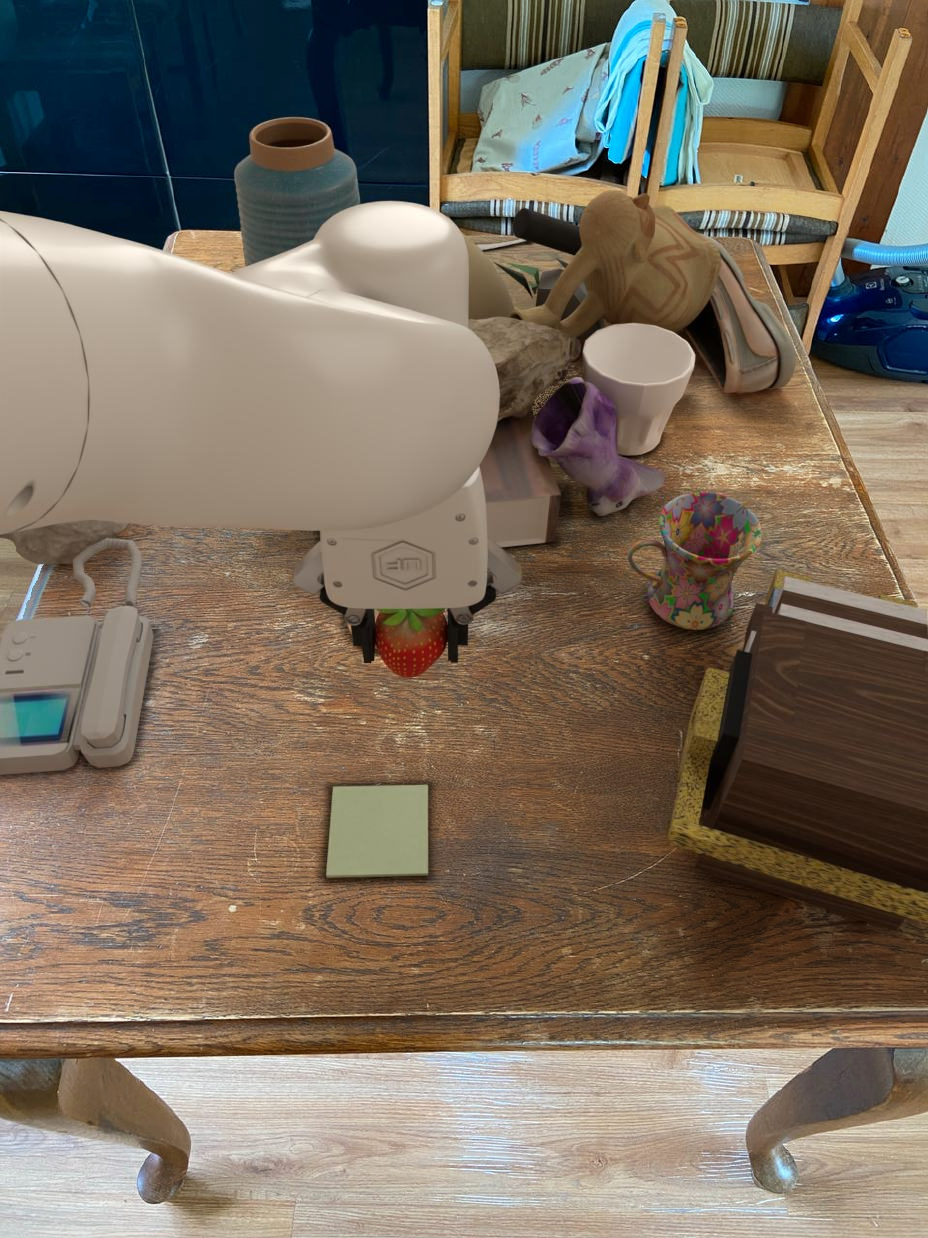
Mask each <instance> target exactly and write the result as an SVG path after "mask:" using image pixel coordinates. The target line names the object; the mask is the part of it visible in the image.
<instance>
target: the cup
mask: <svg viewBox="0 0 928 1238" xmlns="http://www.w3.org/2000/svg"><path fill="white" fill-rule="evenodd" d="M582 354H583V359H582V370H583V371H582V372H583V374H582V375H583V380H584V382H590V383H592V384H593V385H594V386H595V387H596V388H597V389H598V390H599V391H601V392H602V393H603V394H605V395H606V396H608V397H609V398H610V399H611V400H612V402H613V403H614V405H615V408H616V413H617V416H616V430H617V454H618V455H619V456H639V455H643V454H646V453H649V452H651V451H653V450H654V449H655V448H656V447H657V446H658V445H659V444H660V443H661V440H662V439H661V438H662V435H663V433H664V430H665V428H666V425H667V423H668V421H669V419H670V416H671V415H672V412H673V410H674V408H675V405H676V404H677V403H678V402H679V401H680V400H681V399H682V398H683V396H684V393H685V391H686V389H687V386H688V384H689V381H690V379H691V376H692V374H693V371H694V369H695V363H696V354H695V351H694V350H693V348H692V347H691V345H690V343H689V342H688V341H687V340H686V339H684V338H682V337H681V336H680V335H678V334H677V333H676V332H675V333H674V332H672V331H669V330H666V329H663V328H660V327H658V326H655V325H647V324H639V323H627V324H614V325H611V324H610V325H608V326H606V327H604V328H603V329H600V330H597V331H596V332H595V333H594V334H593V335H591V336H590V337H589V338H588V339H587V340H586V341H585V344H584V348H583V352H582Z"/></svg>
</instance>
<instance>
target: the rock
mask: <svg viewBox="0 0 928 1238" xmlns="http://www.w3.org/2000/svg"><path fill="white" fill-rule="evenodd" d="M468 329H470V330H471V331H473V332H474V333H475V334H476V335H477V336H478V337H479V338H480V339H481V340H482V341H483V343H484V344H485V346H486V347H487V349H488V351H489V352H490V354H491V356H492V359H493V361H494V364H495V366H496V371H497V375H498V380H499V390H500V402H499V413H498V419H497V422H498V421H499V420H501V419H503V418H507V417H510V416H511V415H512V416H514V417H520V418H523V417H525V416H526V415H528V413H529V412H530V410H531V409H532V408H533V407H534V406H535V403H534V402H535V400H536V399H537V398H538V397H539V396H540V395H542V394H544V393H545V392H546V390H547V389H548V388H549V387H551V386H553V387H555V386H557V385H559V384H560V382H561V381H564V380H565V379H566V377H567V375H568V373H569V370H570V367H571V366H572V363H571V362H573V361H574V360H576V359H577V357H578V356H579V355H580V354H581V345H580V342H579V340H578V339H576V338H575V337H571V336H569V335H567V334H565V333H563V332H561V331H559V330H556V329H553V328H551V327H548V326H545V325H537V324H536V323H533V322H528V321H523V320H517V319H513V318H508V317H500V316H498V317H491V318H487V319H479V320H473V319H468Z"/></svg>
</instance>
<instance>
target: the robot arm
mask: <svg viewBox="0 0 928 1238" xmlns="http://www.w3.org/2000/svg"><path fill="white" fill-rule="evenodd" d="M461 232H462V231H461V230H460V229H459V227H458V225H457V224H456V223H455V222H454V221H453V220H452V219H451V218H449V217H448V216H447V215H446V214H443V213H442V212H440V211H439V210H437V209H435V208H433V207H429V206H426V205H424V204H420V203H415V202H408V201H400V200H380V201H372V202H365V203H361V204H360V205H356V206H353V207H350V208H347V209H345V210H342V211H340V212H339V213H337V214H335V215H334V216H332V217H331V218H330V219H328V220H327V221H326V222H325V223H324V224H323V225H322V226H321V227H320V229H319V230H318V232H317V234H316V235H315V237H314V239H313V240H311V241H309V242H307V243H305V244H303V245H300V246H298V247H296V248H294V249H291V250H289V251H286V252H284V253H281V254H278V255H276V256H273V257H271V258H268V259H265V260H262V261H260V262H257V263H254V264H252V265H249V266H246V267H245V266H244V267H242V268H239V269H237V270H235V271H232V272H230V273H229V272H227V271H224V270H221V269H218V268H215V267H213V266H211V265H207V264H204V263H201V262H199V261H195V260H192V259H190V258H188V257H183V256H181V255H177V254H176V253H172V252H169V251H166V250H163V249H160V248H156V247H153V246H150V245H147V244H144V243H140V242H137V241H133V240H129V239H125V238H121V237H117V236H113V235H110V234H106V233H103V232H100V231H96V230H92V229H88V228H84V227H80V226H76V225H74V224H71V223H66V222H62V221H56V220H52V219H47V218H45V217H44V218H43V217H38V216H33V215H28V214H27V215H26V214H21V213H15V212H9V211H2V210H0V535H1V534H8V533H13V532H18V531H23V530H28V529H33V528H38V527H43V526H48V525H54V524H60V523H66V522H74V521H85V520H100V521H113V522H121V523H130V525H131V524H132V525H141V526H143V525H144V526H157V527H168V528H169V527H170V528H172V527H173V528H211V529H212V528H214V529H215V528H216V529H217V528H218V529H220V528H221V529H222V528H223V529H224V528H225V529H252V530H253V529H256V530H257V529H258V530H276V531H277V530H280V531H281V530H284V531H308V532H309V531H311V532H313V531H316V532H317V531H319V537H320V539H319V541H318V542H317V543H316V544H315V545H313V546H312V548H310V549H309V551H308V552H306V553H305V554H304V556H303V557H301V559H300V560H298V562H296V564H295V565H294V566H293V569H292V570H293V571H292V576H291V583H292V585H293V586H294V587H296V588H298V589H300V590H302V591H304V592H306V593H308V594H310V595H312V596H314V597H315V596H317V597H319V600H320V602H321V603H322V604H324V605H326V606H328V607H329V608H330V609H332V610H334V611H336V612H338V613H339V614H341V615H343V616H344V618H343V621H344V622H345V623H346V625H347V624H349V625H351V631H352V635H351V638H352V645H353V647H361V651H362V659H363V664H372V663H373V662H375V658H376V657H375V656H376V649H375V642H374V626H375V613H374V609H429V608H445V609H447V625H448V642H447V661H448V662H450V664H456V663H457V664H458V663H459V646H469V625H470V624H471V623H472V622H474V616H475V615H476V614H477V613H478V612H480V611H482V610H483V609H485V608H487V607H488V606H489V605H491V604H492V603H494V602H495V601H496V599H497V596H499V595H502V596H503V595H504V594H506V593H508V592H509V591H511V590H512V589H515V588H517V587H519V586H520V585H521V584H522V582H523V574H522V573H523V572H522V565H521V564H520V563H519V562H518V561H517V560H516V559H515V558H514V557H512V556H511V555H510V554H509V553H508V552H507V551H506V550H505V549H503V547H500V546H499V545H498V544H496V543H495V542H494V541H493V540H492V539H491V538H490V537H489V536H487V513H486V501H485V493H484V487H483V481H482V476H481V471H480V466H479V465H480V463H481V462H482V460H483V458H484V456H485V455H486V453H487V450H488V448H489V446H490V443H491V441H492V438H493V435H494V432H495V429H496V425H497V419H498V413H499V402H500V390H499V380H498V375H497V371H496V366H495V364H494V361H493V359H492V356H491V354H490V352H489V351H488V349H487V347H486V346H485V344H484V343H483V341H482V340H481V339H480V338H479V337H478V336H477V335H476V334H475V333H474V332H473V331H471V330H470V329H468V303H469V259H468V250H467V247H466V243H465V240H464V237H463V235H462V233H463V232H462V233H461ZM488 572H489V573H488Z"/></svg>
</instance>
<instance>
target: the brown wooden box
mask: <svg viewBox="0 0 928 1238" xmlns="http://www.w3.org/2000/svg"><path fill="white" fill-rule="evenodd" d="M812 579H813V578H812V577H811V576H806V575H802V574H798V573H793V572H789V571H785V570H781V569H777V568H776V570H775V573H774V575H773V577H772V580H771V583H770V585H769V588H768V590H767V593H766V597H765V604H762V603H758V602H755V605H754V608H753V611H752V614H751V617H750V619H749V622H748V624H747V627H746V631H745V636H744V642H743V648H742V650H741V649H737V650H736V651H735V654H734V657H733V660H732V662H731V665H730V668H729V671H724V670H722V669H721V670H720V669H716V668H713V667H709V666H707V667H706V670H705V672H704V676H703V679H702V682H701V684H700V687H699V690H698V693H697V696H696V699H695V702H694V705H693V707H692V711H691V714H690V716H689V722H688V727H687V732H686V736H685V740H684V746H683V750H682V754H681V759H680V765H679V769H678V775H677V779H676V784H678V785H677V790H676V795H675V800H674V805H673V810H672V815H671V820H670V824H669V829H668V834H667V839H666V844H667V845H671V846H673V847H677V848H680V849H682V850H683V849H684V850H687V851H690V852H694V853H696V854H697V855H696V861H695V866H694V869H695V870H697V871H700V872H703V873H707V874H711V875H713V876H717V877H720V878H723V879H727V880H729V881H733V882H737V883H739V884H743V885H746V886H748V887H749V886H750V887H752V888H756V889H759V890H763V891H766V892H768V893H772V894H775V895H778V896H780V897H781V896H782V897H785V898H787V899H791V900H794V901H797V902H801V903H804V904H807V905H810V906H814V907H817V908H820V909H823V910H826V911H830V912H833V913H836V914H840V915H843V916H846V917H849V918H852V919H854V920H855V919H856V920H857V921H862V922H864V923H867V924H871V925H875V926H878V927H880V928H884V929H887V930H891V931H893V932H896V931H897V929H899V927H900V926H901V925H902V923H904V921H905V920H906V919H910V920H911V919H912V920H915V921H918V922H921V923H925V924H928V609H924V608H920V607H918V602H915V601H910V600H906V599H902V598H898V597H894V596H890V595H887V594H886V595H885V594H881V593H880V595H879V596H878V597H873V596H869V595H866V594H861V593H857V592H852V591H848V590H845V589H840V588H836V587H832V586H828V585H824V584H819V583H815V582H812ZM702 809H704V815H703V821H702V825H701V824H700V819H701V814H702Z"/></svg>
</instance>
